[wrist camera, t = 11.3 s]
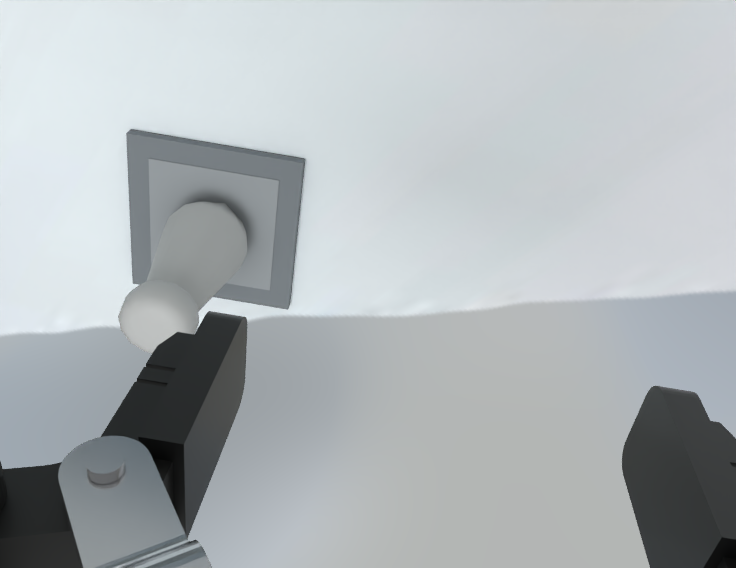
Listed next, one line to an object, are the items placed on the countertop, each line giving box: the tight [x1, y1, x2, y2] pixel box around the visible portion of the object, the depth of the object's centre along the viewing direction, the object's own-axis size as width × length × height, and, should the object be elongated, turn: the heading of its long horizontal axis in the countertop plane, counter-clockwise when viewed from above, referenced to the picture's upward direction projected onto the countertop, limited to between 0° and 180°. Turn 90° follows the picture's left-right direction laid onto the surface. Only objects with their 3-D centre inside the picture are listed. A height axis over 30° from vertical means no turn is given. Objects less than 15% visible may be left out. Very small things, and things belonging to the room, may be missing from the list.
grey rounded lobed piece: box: [118, 201, 247, 353], centre depth 43 cm, size 6×6×13 cm
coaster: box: [126, 130, 305, 309], centre depth 49 cm, size 12×12×1 cm
